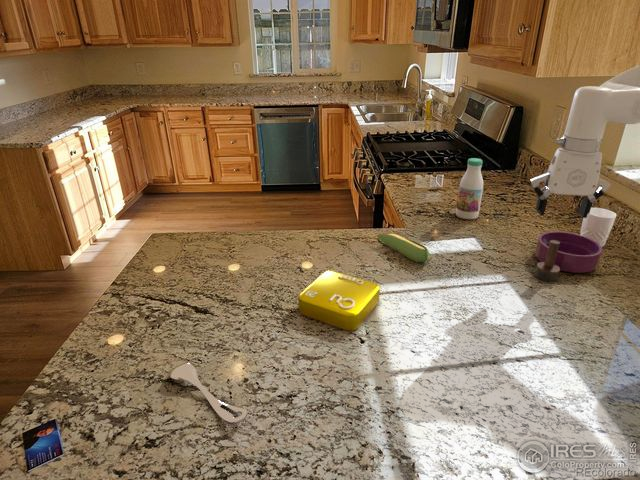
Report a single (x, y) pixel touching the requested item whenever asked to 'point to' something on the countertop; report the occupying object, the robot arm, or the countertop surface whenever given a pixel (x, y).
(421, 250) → the edible corn
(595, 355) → the countertop surface
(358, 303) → the element tile
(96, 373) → the countertop surface
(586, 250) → the bowl
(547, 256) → the dish brush
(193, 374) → the white kitchen utensil
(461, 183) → the milk bottle
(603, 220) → the white cup
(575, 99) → the robot arm
